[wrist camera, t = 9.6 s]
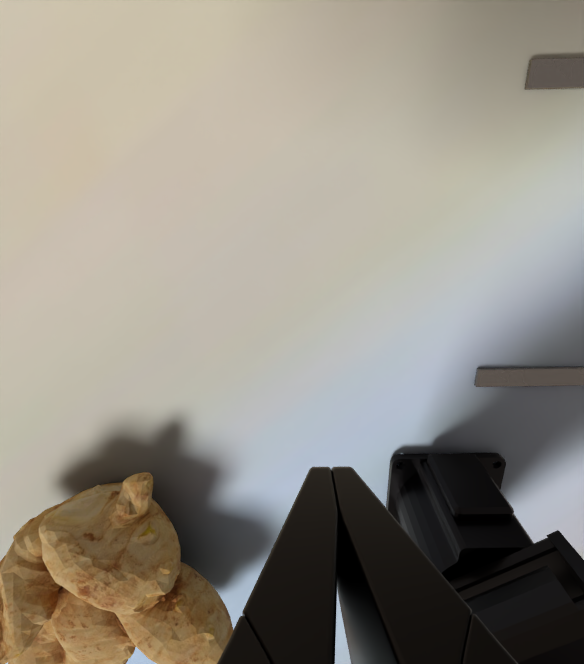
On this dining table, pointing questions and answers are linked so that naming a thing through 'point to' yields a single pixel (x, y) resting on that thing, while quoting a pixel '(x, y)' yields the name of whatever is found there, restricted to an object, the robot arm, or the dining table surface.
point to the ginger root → (106, 586)
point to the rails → (541, 77)
